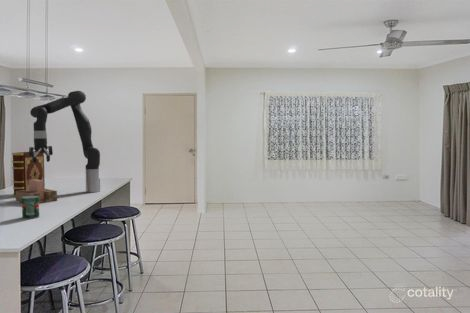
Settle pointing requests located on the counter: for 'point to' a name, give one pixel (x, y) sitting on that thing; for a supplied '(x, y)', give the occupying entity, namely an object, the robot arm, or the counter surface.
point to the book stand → (48, 195)
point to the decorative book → (26, 170)
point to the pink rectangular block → (37, 187)
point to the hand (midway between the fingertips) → (41, 162)
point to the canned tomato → (30, 207)
